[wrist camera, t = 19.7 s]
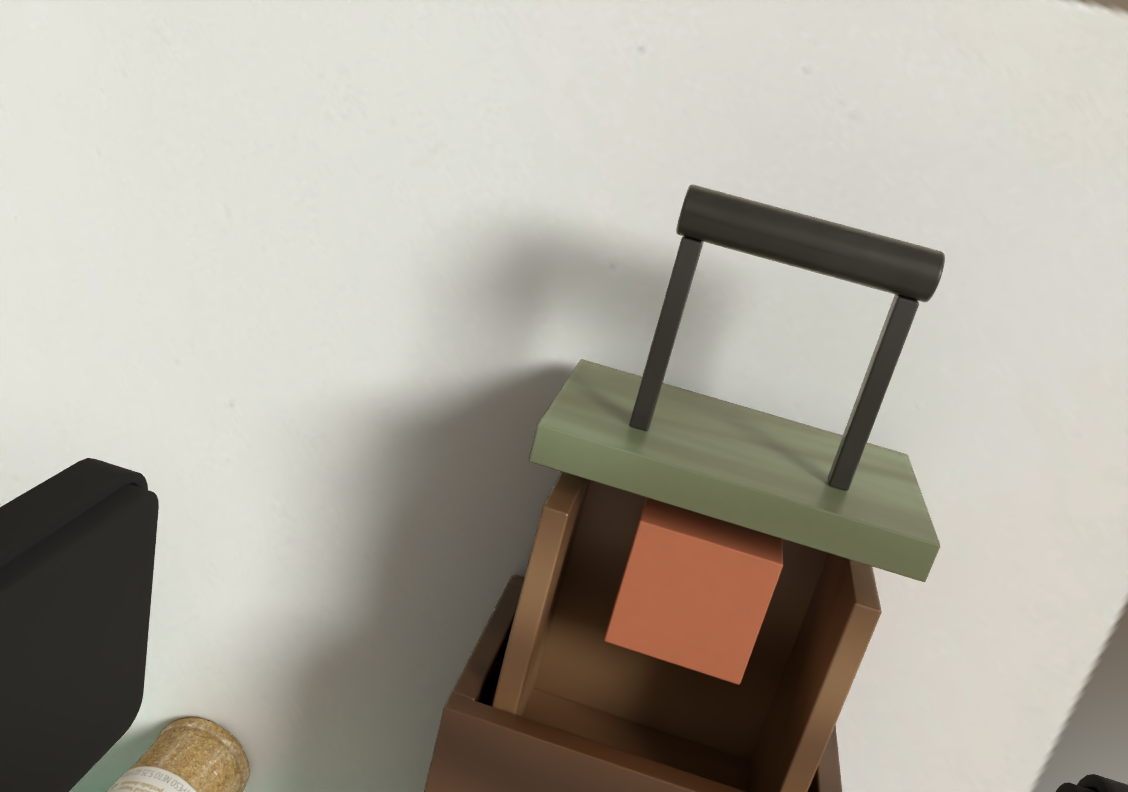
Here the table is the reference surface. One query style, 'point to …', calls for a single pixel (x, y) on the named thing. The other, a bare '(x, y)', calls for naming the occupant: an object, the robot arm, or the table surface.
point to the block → (695, 590)
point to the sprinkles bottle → (188, 761)
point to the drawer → (733, 494)
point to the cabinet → (547, 740)
